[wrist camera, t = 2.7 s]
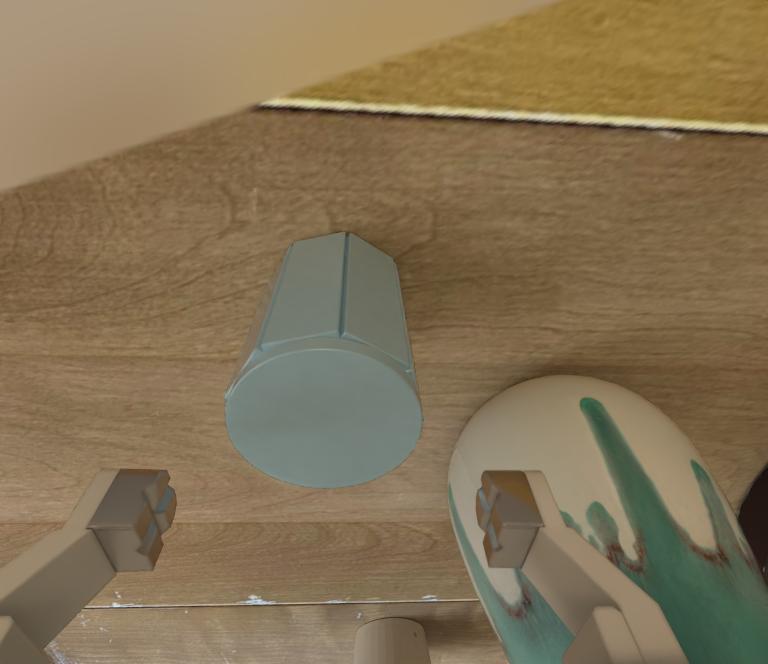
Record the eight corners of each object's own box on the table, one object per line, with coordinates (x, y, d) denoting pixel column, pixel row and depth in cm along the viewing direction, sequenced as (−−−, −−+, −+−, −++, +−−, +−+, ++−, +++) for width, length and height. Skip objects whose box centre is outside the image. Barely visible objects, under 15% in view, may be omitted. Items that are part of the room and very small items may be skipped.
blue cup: (252, 249, 18) (189, 371, 11) (388, 221, 18) (405, 330, 11) (294, 357, 21) (264, 501, 15) (410, 336, 21) (434, 473, 14)
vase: (419, 368, 22) (541, 1047, 7) (653, 320, 21) (1359, 994, 6) (450, 502, 28) (548, 1006, 14) (631, 470, 27) (950, 977, 13)
